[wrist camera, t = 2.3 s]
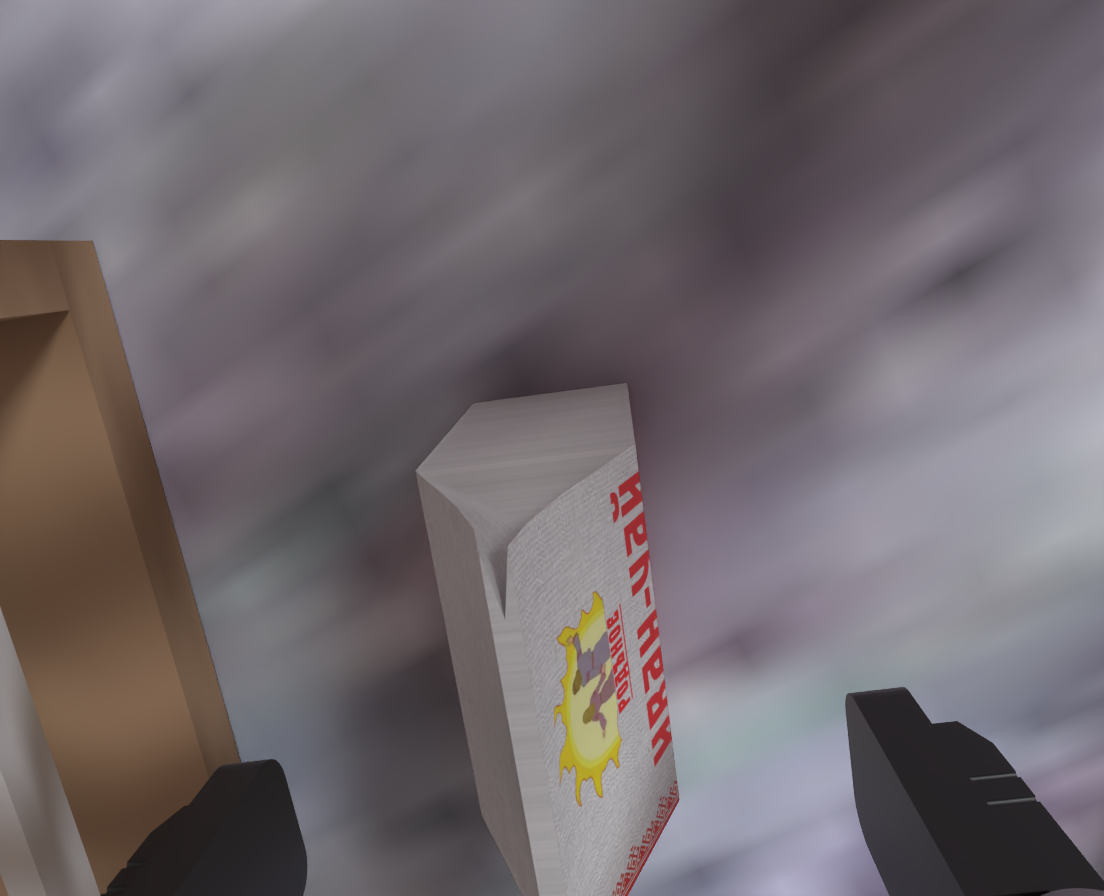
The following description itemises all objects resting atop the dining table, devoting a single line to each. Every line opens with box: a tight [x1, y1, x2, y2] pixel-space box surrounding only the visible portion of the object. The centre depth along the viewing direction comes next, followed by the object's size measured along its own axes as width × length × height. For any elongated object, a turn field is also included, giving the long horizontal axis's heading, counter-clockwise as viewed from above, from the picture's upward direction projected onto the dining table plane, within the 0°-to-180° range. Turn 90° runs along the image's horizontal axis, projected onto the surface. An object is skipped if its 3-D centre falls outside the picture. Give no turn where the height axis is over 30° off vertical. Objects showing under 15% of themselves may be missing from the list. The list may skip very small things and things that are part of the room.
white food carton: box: [415, 383, 679, 896], centre depth 15 cm, size 4×7×10 cm, turn 8°
